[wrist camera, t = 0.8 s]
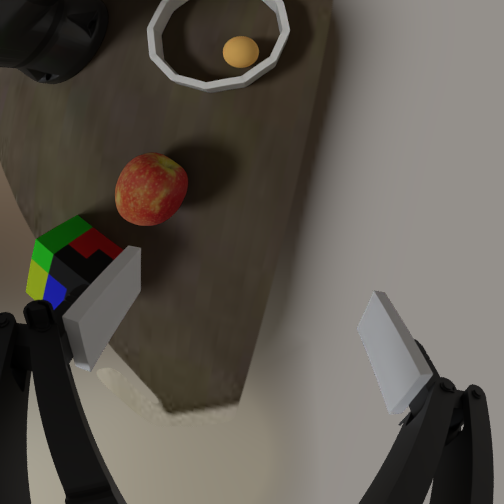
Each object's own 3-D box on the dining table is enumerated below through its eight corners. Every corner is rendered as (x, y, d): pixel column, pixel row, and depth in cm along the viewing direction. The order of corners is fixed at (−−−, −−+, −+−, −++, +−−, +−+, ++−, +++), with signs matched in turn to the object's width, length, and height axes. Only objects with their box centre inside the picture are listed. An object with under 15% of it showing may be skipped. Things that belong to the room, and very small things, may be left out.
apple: (204, 176, 34) (188, 189, 26) (168, 227, 37) (145, 251, 29) (155, 140, 32) (127, 143, 25) (122, 192, 35) (91, 208, 27)
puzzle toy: (105, 297, 42) (76, 334, 33) (61, 262, 40) (25, 292, 30) (127, 252, 38) (93, 286, 29) (77, 214, 36) (36, 239, 27)
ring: (134, 37, 26) (124, 31, 24) (231, -32, 22) (228, -43, 19) (207, 117, 31) (202, 115, 28) (313, 43, 26) (317, 35, 24)
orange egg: (218, 55, 28) (213, 45, 24) (245, 36, 27) (242, 25, 23) (239, 77, 29) (236, 70, 25) (266, 58, 28) (266, 49, 24)
